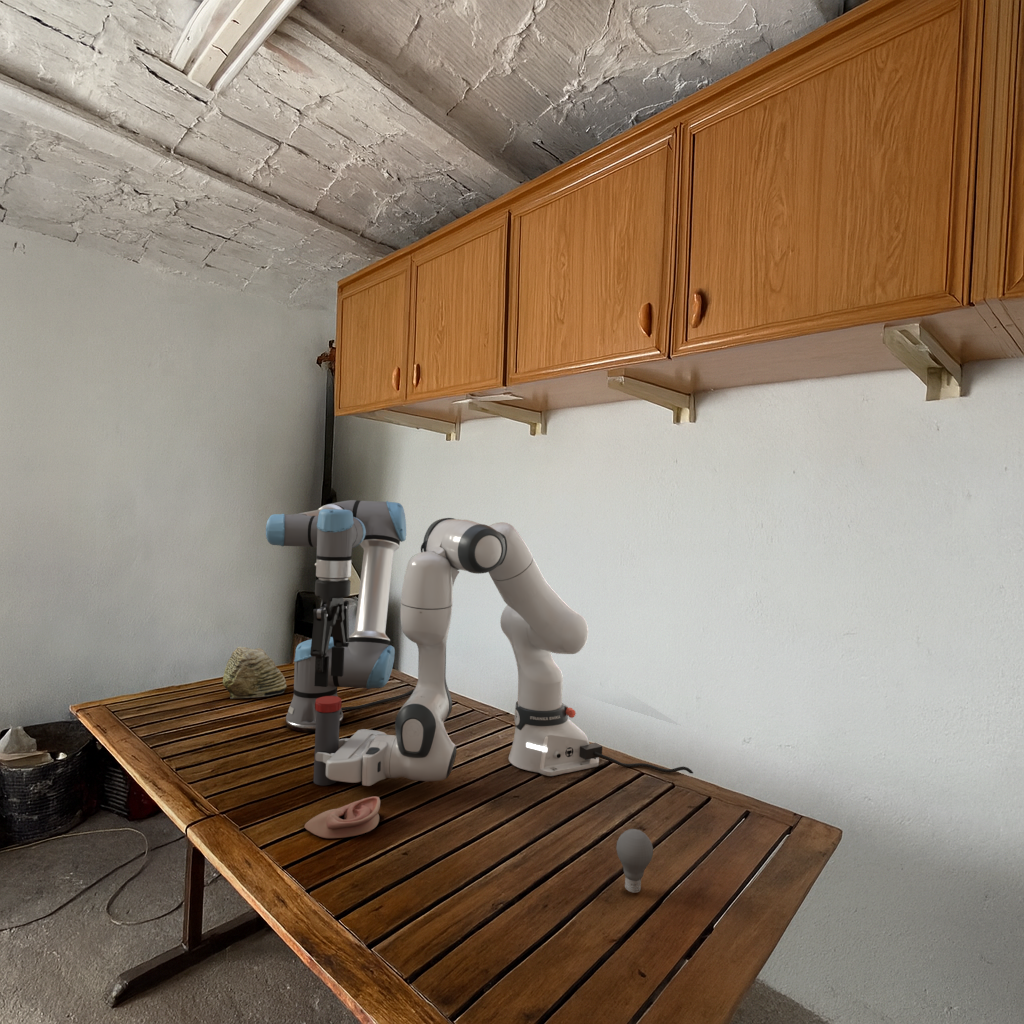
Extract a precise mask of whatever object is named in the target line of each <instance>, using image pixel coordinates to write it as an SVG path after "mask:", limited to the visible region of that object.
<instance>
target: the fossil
mask: <svg viewBox="0 0 1024 1024" xmlns="http://www.w3.org/2000/svg"><path fill="white" fill-rule="evenodd" d="M222 676H223V677H222V685H223V687H224V688H225V690H226V691H228V693H229V698H230V699H250V698H264V697H271V696H275V695H281V694H284V693H285V691H286V689H287V687H288V686H287V680H286V678H285V676H284V674H283V673H282V672H281V669H279V668H278V667H277V665H276V663H275V662H274V660H273V659H272V658H271V657H270V656H269V655H268V654H267V653H266V652H265V650H264V649H263V648H260V647H258V648H251V647H247V646H246V647H245V646H238V647H237V648H236V649H235V650H233V651H232V653H231V656H230V657H229V659H228V660H227V663H226V666H225V668H224V671H223V675H222Z"/></svg>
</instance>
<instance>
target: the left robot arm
mask: <svg viewBox="0 0 1024 1024" xmlns="http://www.w3.org/2000/svg"><path fill="white" fill-rule="evenodd" d="M265 537H266V541H267V542H268V543H269V544H270V545H272V546H280V547H307V548H316V562H315V563H314V566H315V577H317V579H316V580H315V583H314V584H315V585H314V595H315V596H316V597H317V598H320V599H321V601H320V606H319V608H314V609H313V612H312V613H313V624H312V634H311V639H307V640H304V641H302V642H300V643H298V644H297V645H296V648H295V655H294V660H293V662H294V672H293V695H292V696H293V697H292V699H291V702H290V704H289V707H288V709H287V713H286V715H285V726H286V728H287V729H289V730H291V731H294V732H295V731H296V732H301V733H315V730H316V710H315V702H316V699H317V698H320V697H324V696H336V697H339V695H338V688H353V689H354V688H355V689H368V690H370V689H381V688H384V687H385V686H386V685H387V684H388V682H389V680H390V677H391V675H392V671H393V668H394V662H395V653H396V650H395V647H394V646H392V645H391V644H390V642H391V639H390V638H389V637H388V635H387V634H386V629H387V620H388V611H389V610H388V609H389V601H390V590H391V580H392V571H393V570H392V569H393V562H394V561H393V560H394V553H395V552H396V551H397V550H398V549H400V544H401V543H403V542H405V541H406V539H407V521H406V514H405V509H404V506H403V505H402V504H401V503H400V502H395V501H389V500H386V501H382V500H380V501H379V500H357V499H351V500H349V499H348V500H342V501H337V502H332V503H327V504H325V505H321V507H319V508H318V509H315V510H309V511H305V512H299V513H293V514H291V513H290V514H285V513H273V514H270V516H269V517H268V519H267V521H266V525H265ZM358 546H360V547H361V548H362V549H363V556H362V563H361V572H360V581H359V588H358V590H359V591H358V597H357V607H356V614H355V624H354V631H353V632H352V633H351V634H350V631H349V630H350V625H349V624H350V620H349V619H350V618H349V609H350V600H345V598H347V597H349V596H350V594H351V583H352V582H351V580H350V578H351V577H352V553H353V552H352V551H353V550H352V549H354V548H357V547H358ZM414 689H415V688H413V689H411V690H409V691H407V692H405V693H402V694H400V695H396V696H392V697H387V698H384V699H380V700H376V701H372V702H368V703H364V704H360V705H353V706H344V707H343V706H341V709H340V725H342V723H343V722H344V713H343V711H351V710H359V709H364V708H365V709H366V708H369V707H372V706H376V705H379V704H383V703H388V702H393V701H397V700H398V699H399V700H400V699H402V698H405V697H407V696H409V695H411V694H412V693H413V691H414Z"/></svg>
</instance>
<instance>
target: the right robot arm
mask: <svg viewBox="0 0 1024 1024" xmlns="http://www.w3.org/2000/svg"><path fill="white" fill-rule="evenodd" d="M460 571H464V572H468V573H470V574H478V575H479V574H481V575H482V574H486V573H488V574H489V576H490V578H491V580H492V581H493V583H494V585H495V587H496V589H497V591H498V593H499V595H500V597H501V598H502V600H503V602H504V604H506V606H505V607H504V609H503V610H502V612H501V615H500V622H499V623H500V628H501V631H502V633H503V634H504V635H505V636H506V638H507V640H508V642H509V643H510V646H511V648H512V653H513V656H514V658H515V662H516V667H517V700H516V702H515V709H514V727H515V728H514V735H513V740H512V743H511V748H510V751H509V754H508V757H507V758H508V762H509V763H510V764H511V765H512V766H514V767H516V768H518V769H521V770H525V771H528V772H533V773H538V774H540V775H544V776H547V777H554V776H558V775H564V774H569V773H573V772H578V771H582V770H588V769H593V768H597V767H599V765H600V758H602V759H604V760H607V761H609V762H611V763H614V764H616V765H617V766H621V767H622V768H623V767H624V768H637V767H639V768H640V767H641V768H643V767H644V768H649V769H652V770H655V771H658V772H661V773H666V774H667V773H669V774H672V773H677V772H679V771H686V772H688V773H689V774H694V772H693V770H692V769H691V768H689V767H687V766H678V767H675V768H663V767H659V766H656V765H653V764H650V763H646V762H645V763H644V762H637V763H636V762H635V763H625V762H621V761H618V760H617V759H615V758H613V757H610V756H607V755H605V754H603V746H602V745H601V744H600V743H597V742H592V743H590V741H589V737H588V735H587V734H586V733H585V732H584V730H582V729H581V728H580V727H579V726H578V725H576V724H575V723H574V722H573V721H572V720H570V718H571V719H573V718H575V716H576V714H577V713H576V711H575V709H573V708H572V707H569V706H568V705H566V704H564V703H563V686H564V675H563V672H562V670H561V667H559V666H558V664H557V663H556V661H555V660H554V658H553V655H552V653H553V654H556V655H575V654H578V653H579V652H581V651H582V650H583V648H584V647H585V646H586V644H587V642H588V639H589V625H588V621H587V620H586V619H585V617H584V616H583V615H581V614H580V613H579V612H577V611H576V610H574V609H573V608H572V607H570V606H569V605H568V604H567V603H566V602H565V601H564V599H563V598H562V597H560V595H559V594H558V593H557V592H556V590H554V589H553V588H552V586H551V585H550V584H549V583H548V581H547V580H546V578H545V577H544V574H543V573H542V571H541V569H540V567H539V565H538V564H537V561H536V559H535V558H534V556H533V553H532V551H531V550H530V547H529V546H528V545H527V543H526V542H525V540H524V539H523V537H522V536H521V535H520V533H519V532H518V531H517V529H516V528H515V527H514V526H513V525H512V524H510V523H508V522H505V521H502V522H501V521H500V522H495V523H492V524H489V525H487V524H483V523H479V522H477V521H473V520H469V519H459V518H454V517H444V518H439V519H437V520H435V521H433V522H432V523H431V524H430V525H429V526H428V528H427V530H426V532H425V533H424V537H423V541H422V543H421V545H420V552H418V553H416V554H414V555H412V557H410V558H409V560H408V562H407V564H406V568H405V571H404V572H405V573H404V576H403V582H402V587H401V595H400V598H401V599H400V624H401V631H402V633H403V634H404V636H405V637H406V638H407V639H408V640H409V641H411V642H413V643H414V644H416V646H417V651H418V652H417V653H418V659H417V661H418V663H417V666H418V667H417V668H418V669H417V682H416V685H415V688H413V689H414V691H413V693H411V694H410V696H409V697H408V699H407V700H406V701H405V702H404V703H403V705H402V706H401V707H400V709H399V710H398V712H397V714H396V717H395V720H394V730H395V735H394V734H387V733H386V732H384V731H381V730H375V729H374V730H373V729H366V728H361V729H357V730H356V732H354V733H353V734H352V735H351V737H350V738H347V737H345V738H341V739H340V738H339V750H338V751H337V752H336V753H331V754H328V753H326V751H318V752H317V753H316V754H315V753H314V755H315V760H316V761H321V762H324V763H326V777H327V778H329V779H330V780H335V781H336V782H342V783H351V784H354V783H355V784H357V783H361V785H362V786H366V787H371V786H372V785H375V784H376V783H378V782H380V781H383V780H386V779H398V778H404V779H408V780H410V781H417V782H441V781H444V780H446V779H448V777H449V776H450V774H451V773H452V770H453V768H454V765H455V762H456V757H457V751H458V749H457V745H456V744H455V743H454V741H452V739H451V738H450V736H449V735H448V731H447V729H446V727H445V722H446V720H448V718H449V716H450V715H451V714H452V709H453V700H452V696H451V692H450V690H449V687H448V684H447V683H448V682H447V678H446V673H447V671H446V670H447V641H448V636H449V632H450V628H451V627H450V626H451V623H452V614H453V603H454V601H453V600H454V584H455V581H456V579H457V577H458V575H459V573H460Z"/></svg>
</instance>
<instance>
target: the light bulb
mask: <svg viewBox="0 0 1024 1024" xmlns="http://www.w3.org/2000/svg"><path fill="white" fill-rule="evenodd" d="M615 849H616V854H617V857H618V859H619V861H620V863H621V865H622V867H623V873H624V874H623V875H624V876H625V878H624V888H625V890H627V891H628V892H630V893H634V894H635V893H639V892H640V891H641V889H642V887H641V886H642V879H643V877H644V875H645V871H646V868H647V867H648V866H649V864H650V863H651V861H652V859H653V855H654V847H653V843H652V841H651V838H649V836H648V835H647V834H646V833H645V832H643V831H642V830H641V829H636V828H629V829H627V830H625V831H623V832H622V833H621V834H620V835H619V837H618V839H617V841H616V847H615Z"/></svg>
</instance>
